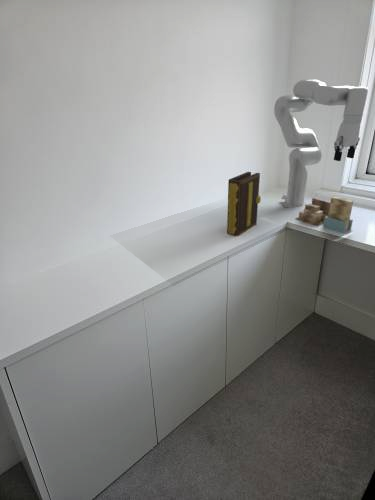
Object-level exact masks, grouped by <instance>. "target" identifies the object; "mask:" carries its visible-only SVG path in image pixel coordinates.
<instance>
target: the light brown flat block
mask: <svg viewBox="0 0 375 500" xmlns="http://www.w3.org/2000/svg"><path fill="white" fill-rule="evenodd" d="M330 198H331V199H330V201H329V202H330V208H329V214H328V217H330V218H333V219H337V220H340V221H343V222H346V227H345V232H347V231H349V230H348V225H349V220H350V219H351V214H352V210H353V205H354V200H352V199H347V198H342V197H338V196H331V197H330Z"/></svg>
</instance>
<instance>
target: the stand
mask: <svg viewBox="0 0 375 500" xmlns="http://www.w3.org/2000/svg"><path fill="white" fill-rule="evenodd" d="M353 222H354V219H352V218H350V220H349V225H348V230H347V231H351V230H352V226H353ZM322 227H324V228H326V229H329V230H332V231H335V232H338V233H341V234H345V232H346V231H345V227H346V222H343V221H340V220H337V219H333V218H330V217H327V216H326V217H325V218H324V224H322Z"/></svg>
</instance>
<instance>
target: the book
mask: <svg viewBox="0 0 375 500" xmlns="http://www.w3.org/2000/svg"><path fill="white" fill-rule="evenodd" d="M260 177H261V173H260V172H255V173H253V174H252V172H251V171H246V172H244V173H241V174H239V175H237V176H234V177H232V178H230V179H228V184H227V185H228V187H227V191H228V192H227V219H226V220H227V221H226V222H227V223H226V234H227V235H229V236H233V237H239V236H241V235H243V234H244V233H246V232H247V231H248V230H249V229H251V228H253V227H254V226H256V225H257V219H258V206H259V205H258V204H260V203H261V200H262V199H261V196H260V194H259V192H260V179H261V178H260Z"/></svg>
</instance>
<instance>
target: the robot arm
mask: <svg viewBox="0 0 375 500" xmlns="http://www.w3.org/2000/svg"><path fill="white" fill-rule="evenodd" d="M292 92H293V94H286V95H282V96H279V97H278V98H277V99H276V101H275V103H274V106H273V107H274V113H273V114H274V117H275V120H276V121H277V123H278V126H279V127H280V129H281V132H282V135H283V138H284V141H285V143H286V146H287V147H288V148H290V149H292V150H291V152H290V153H289V156H288V163H289V164H288V165H289V172H288V181H287V183H288V184H287V190H286V191H287V192H286V195H285V194H283V195H282V197H281V200H284V201H283V203H282V205H283V207H285V208H292V207H293V208H300V207H305V205H306V204H307V203H306V202H305V198H306V197H305V196H306V189H307V188H306V187H307V182H308V171H307V168H306V166H311V165H316V164H318V163H320V161H321V159H322V156H323V154H322V149H321V147H320V143H319V141H318V138H317V136H316V134H315V132H314V131H313V130H312V129H311V128H301V127H299V124H298V122H297V119H296V118H295V117H294V116H293V115H292V114H291V113H300V112H304V111H305V110H307V109H308V108H309V107H310V106H311V105H312V104H313V103H315V104H318V105H323V106H328V107H329V106H333V107H334V106H344V110H343V116H342V121H341V123H340V125H339V127H338V132H337V135H336V139H335V141H334V142H333V144H334V146H333V147H334V156H333V160H334V161H336V162H341V161H342V155H343V152H342V151H343V150H344V148H347V153H346V158H348V159H355V158H354V157H355V153H356V149H357V146H358V145H359V142H360V140H361V138H360V137H359V136H360V131H361V123H362V119H363V115H364V110H365V106H366V101H367V97H368V92H369V88H368V87H366V86H351V85H342V86H341V85H339V86H335V85H334V86H331V85H326V83H325V82H323V81H320V80H319V79H302V80H299V81H297V82H296V83H295V84H294V86H293V88H292ZM348 147H349V148H348Z"/></svg>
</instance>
